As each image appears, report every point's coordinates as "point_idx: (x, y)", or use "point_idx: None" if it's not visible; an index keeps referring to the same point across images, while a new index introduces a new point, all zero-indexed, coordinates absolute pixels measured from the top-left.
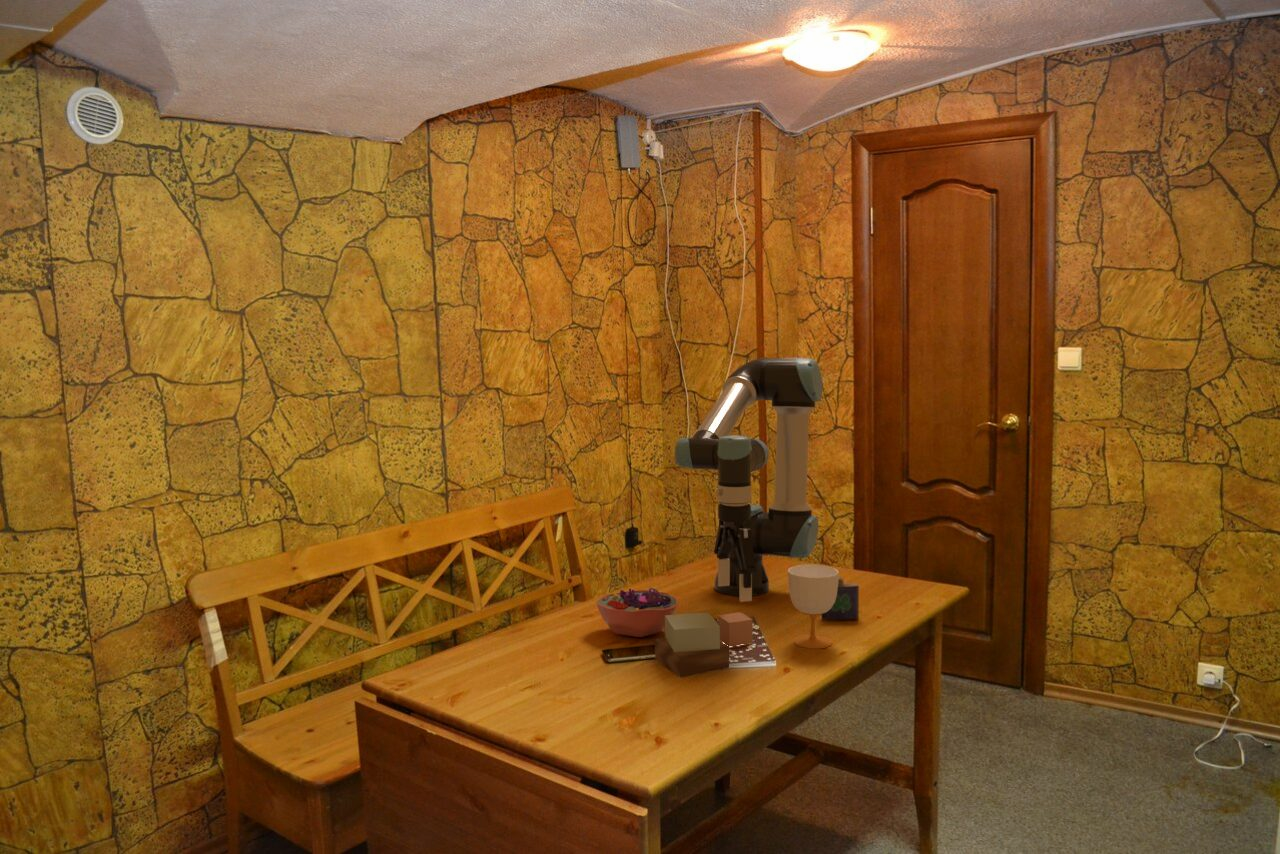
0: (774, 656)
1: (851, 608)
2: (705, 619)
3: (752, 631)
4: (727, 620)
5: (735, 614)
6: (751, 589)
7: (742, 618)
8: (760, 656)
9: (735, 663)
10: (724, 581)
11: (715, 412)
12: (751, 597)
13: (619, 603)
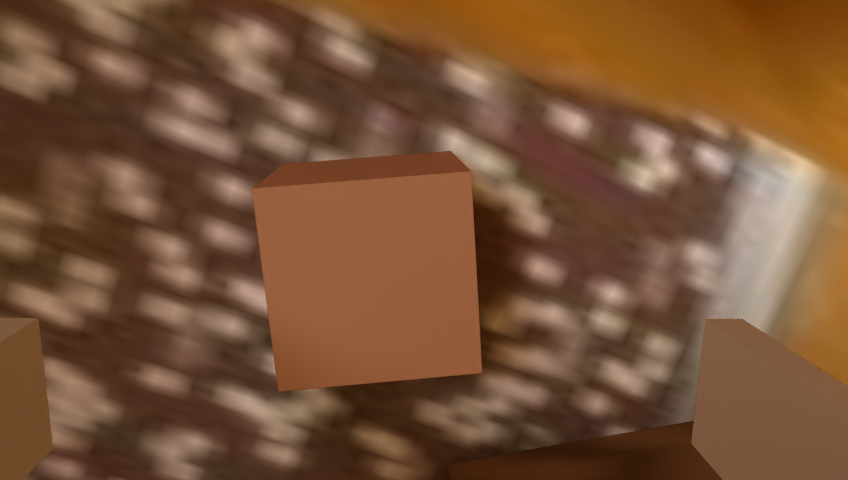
0: (694, 112)
1: None
2: None
3: (459, 160)
4: (422, 365)
5: (298, 252)
6: (827, 378)
7: (418, 238)
8: (660, 192)
9: (698, 364)
10: (11, 408)
11: None
12: (763, 336)
13: None
